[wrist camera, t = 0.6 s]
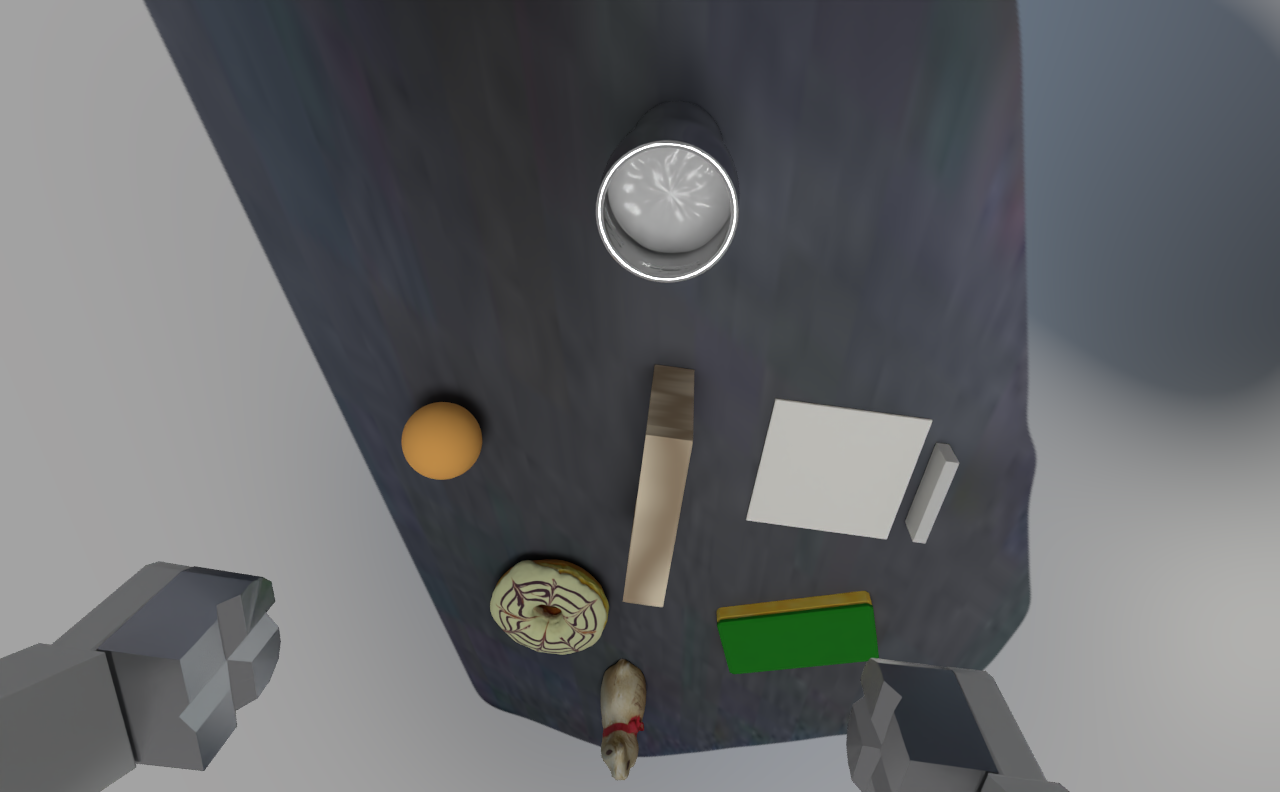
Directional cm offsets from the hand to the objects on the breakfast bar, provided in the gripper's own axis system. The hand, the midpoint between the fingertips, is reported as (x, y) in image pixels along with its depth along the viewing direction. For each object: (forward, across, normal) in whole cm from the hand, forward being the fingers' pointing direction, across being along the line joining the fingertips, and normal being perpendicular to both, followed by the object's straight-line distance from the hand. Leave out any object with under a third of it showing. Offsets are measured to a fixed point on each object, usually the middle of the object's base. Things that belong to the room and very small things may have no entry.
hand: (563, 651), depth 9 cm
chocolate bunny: (+46, -1, +49) cm, 67 cm away
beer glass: (+40, 0, -4) cm, 40 cm away
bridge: (+43, -2, +19) cm, 47 cm away
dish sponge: (+46, -16, +37) cm, 61 cm away
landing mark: (+43, -16, +19) cm, 50 cm away
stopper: (+43, -23, +20) cm, 53 cm away
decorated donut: (+45, +7, +37) cm, 59 cm away
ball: (+40, +15, +19) cm, 46 cm away
